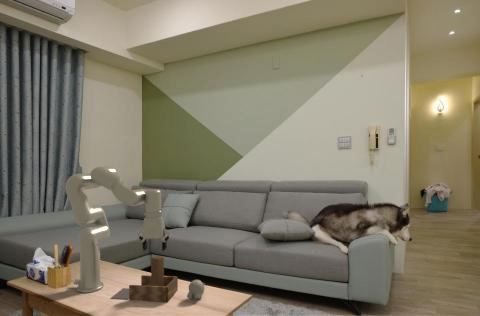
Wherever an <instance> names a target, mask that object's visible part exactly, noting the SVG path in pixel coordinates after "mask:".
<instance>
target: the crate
mask: <svg viewBox="0 0 480 316" xmlns="http://www.w3.org/2000/svg"><path fill="white" fill-rule="evenodd" d="M140 279H141V280H140V281H141V283H140V285H139V284H138V285H137V284H129V286H128V288H129V299H128V301H130V302H131V301H132V302H151V303H152V302H153V303H169V302H170V300H171V299H172V298H173V297H174V295H175V294H176V293H177V292H178V291H179V290H178V289H179V286H178V285H179V284H178V283H179V282H178V279H179V277H178V276H175V275H174V276H171V275H164V286H149V284H150V282H151V275H147V274H145V275H144V274H142V275H141V276H140Z"/></svg>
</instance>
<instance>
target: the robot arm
mask: <svg viewBox="0 0 480 316" xmlns="http://www.w3.org/2000/svg"><path fill="white" fill-rule="evenodd" d="M124 182H125V181H124V178H123V177H122V176H120V175H118V171H117V170H116V169H115V167H113V166H97V167H96V166H95V168H93V169H92V170H91V172H89V173H87V172H85V173H76V174H73V175H71V176H69V178H67V180H66V181H65V187H64V188H65V189H64V190H65V194H66V196H67V198H68V200H69V203H70V205H71V206H70V207H71V209H72V213H73V216H74V219H75V220H74V221H75V222H76V224H77V225H78V226H80V227H81V226H82V227H84V226H88V225H91V226H89V227H85V228H84V229H82V230H81V231H79V233H78V235H77V243H78V247H79V272H80V273H79V275H80V277H79V278H76V279H75V280H74V282H73V285H77V287H76V292H78V293H82V294H83V293H88V294H89V293H93V292H97V291H99V290H101V289H102V288H104V282H103V281H101V251H100V248H99V246H98V244H100V243H103V242H105V241H107V240H108V239H109V238H110V235H111V230H110V226H109V222H108V219H107V216H106V213H105V210H104V208H102V207H101V206H100V205H91V204H90V201H89V198H88V196H87V195H86V193H85V192H84V191H83V190H91V189H92V190H93V189H97V188H100V187H103V188H105V189H106V190H108V191H110V192H112V195H113V196H114V198H115V199H117V201H119V202H121V203H122V204H124V205H126V206H130V207H136V206H139V205H144V204H145V211H144V212H143V213H142V214H143V215H142V216H144V219H143V224H142V230H140V231H138V232H137V233H136V235H137V237H138V239H139V240H140V241H141V243H142V249H143V251H147V250H148V241H147V240H161V241H162V242H161V247H162V248H161V251H165V250H166V249H167V248H168V247H167V242H168V240H169V239H170V238H171V236H172V232H171V231H169V230H167V229H166V227H165V221H164V217H163V216H162V214H163V213H162V192H161V190H160V189H146V188H140V189H133V190H132V189H130V188H128V187H126V186H124Z"/></svg>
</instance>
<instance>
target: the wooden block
mask: <svg viewBox="0 0 480 316" xmlns="http://www.w3.org/2000/svg"><path fill="white" fill-rule="evenodd" d="M164 259H165V258H164V256H162V255H161V256H160V255H156V256H154V257H151V258H150V267H151V268H150V270H151V271H150V274H151V275H150V276H151V282H150V284H149V286H164V276H165V268H164V267H165V266H164V265H165V260H164Z"/></svg>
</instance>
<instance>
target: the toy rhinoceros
mask: <svg viewBox="0 0 480 316" xmlns="http://www.w3.org/2000/svg"><path fill="white" fill-rule="evenodd" d="M205 286H206V283H205V282H202V281H201V280H200V279H194V280H192V281H191V282H190V284H189V285H188V293H187V295H186V298H187V299H195V300H202V298H203V297H202V295H203V294H204V291H205V289H206V288H205Z"/></svg>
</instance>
